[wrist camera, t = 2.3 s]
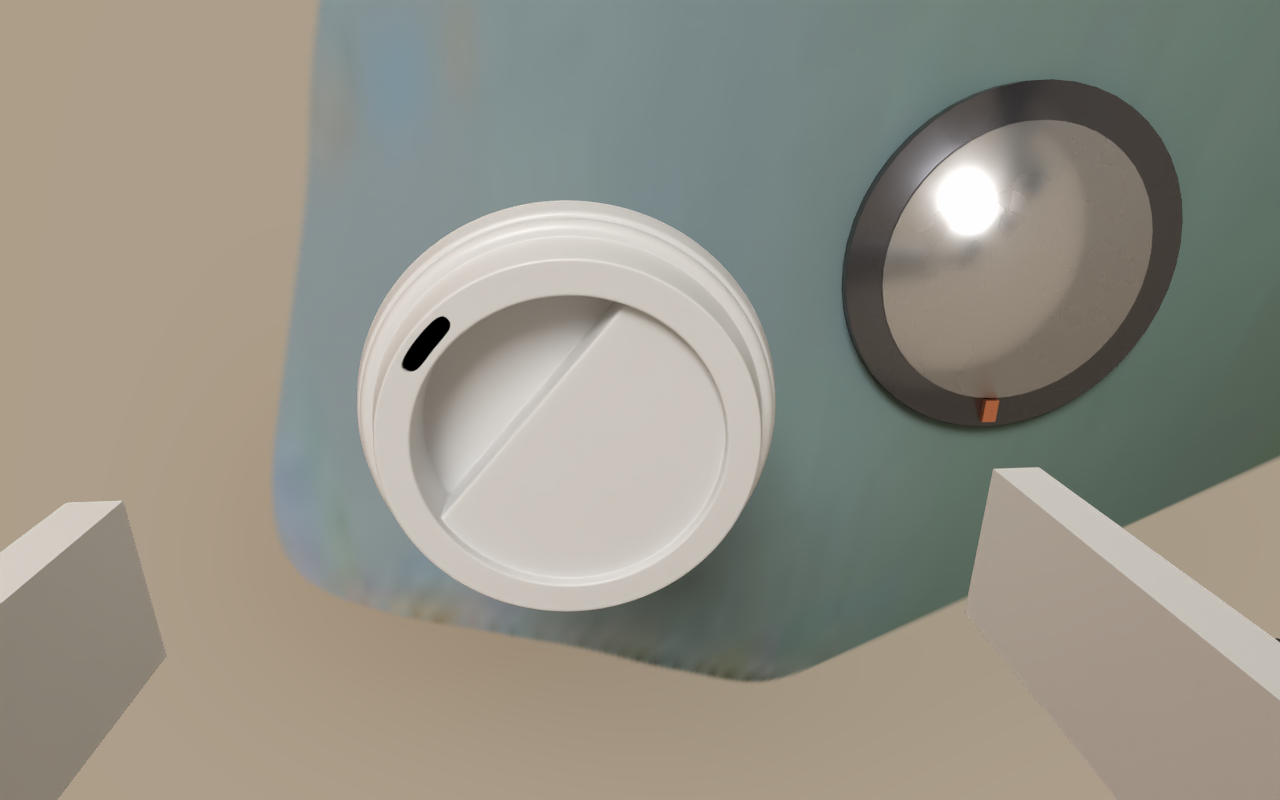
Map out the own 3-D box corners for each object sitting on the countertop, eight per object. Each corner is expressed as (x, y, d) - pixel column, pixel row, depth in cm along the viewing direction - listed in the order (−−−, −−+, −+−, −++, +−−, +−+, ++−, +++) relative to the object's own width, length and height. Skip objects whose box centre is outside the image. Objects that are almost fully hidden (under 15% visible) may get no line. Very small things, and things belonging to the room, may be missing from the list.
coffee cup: (623, 119, 27) (681, 114, 13) (728, 340, 30) (865, 527, 16) (399, 240, 27) (223, 361, 13) (526, 442, 31) (490, 705, 17)
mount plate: (863, 77, 27) (872, 76, 26) (1212, 83, 28) (1231, 82, 27) (825, 424, 32) (832, 432, 31) (1123, 417, 33) (1137, 424, 32)
